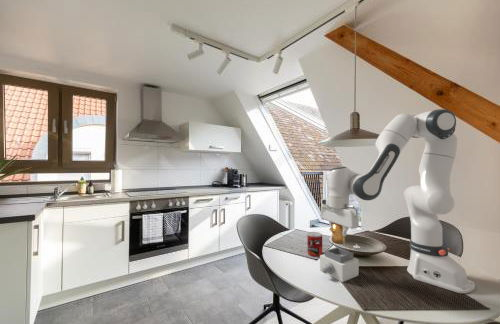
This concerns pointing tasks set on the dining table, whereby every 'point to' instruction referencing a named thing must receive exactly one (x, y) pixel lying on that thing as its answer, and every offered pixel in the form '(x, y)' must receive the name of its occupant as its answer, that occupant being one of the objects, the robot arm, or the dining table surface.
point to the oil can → (337, 234)
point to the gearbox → (339, 264)
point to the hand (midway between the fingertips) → (338, 233)
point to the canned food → (314, 243)
